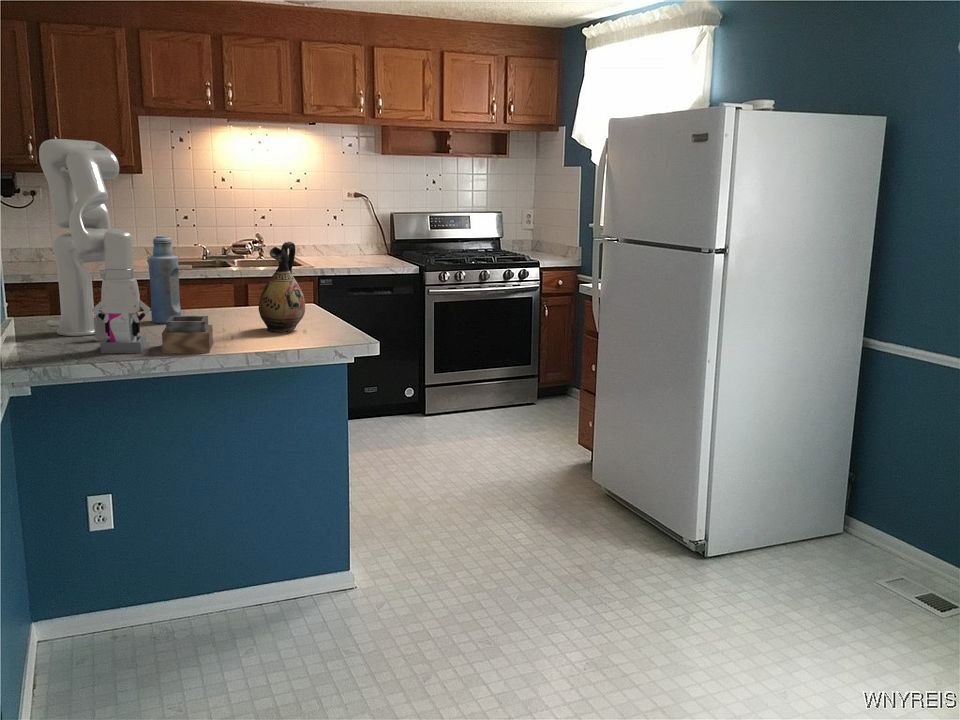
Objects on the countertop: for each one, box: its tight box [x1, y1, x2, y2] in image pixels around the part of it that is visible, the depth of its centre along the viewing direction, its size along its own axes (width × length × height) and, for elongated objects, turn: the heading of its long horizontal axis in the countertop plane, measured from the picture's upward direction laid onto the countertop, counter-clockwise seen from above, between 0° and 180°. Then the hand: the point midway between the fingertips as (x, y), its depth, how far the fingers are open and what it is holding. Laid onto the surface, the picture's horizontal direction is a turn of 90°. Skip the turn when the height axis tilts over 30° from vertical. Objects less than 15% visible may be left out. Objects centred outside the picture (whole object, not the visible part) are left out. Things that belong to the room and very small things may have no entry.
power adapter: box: [94, 301, 108, 342], centre depth 252 cm, size 3×5×12 cm, turn 126°
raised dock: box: [161, 315, 214, 354], centre depth 245 cm, size 13×13×9 cm
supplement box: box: [109, 312, 137, 342], centre depth 240 cm, size 6×6×12 cm
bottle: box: [147, 235, 182, 325], centre depth 284 cm, size 10×10×30 cm
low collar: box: [99, 335, 148, 354], centre depth 241 cm, size 11×11×3 cm
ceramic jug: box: [258, 241, 306, 333], centre depth 277 cm, size 17×15×30 cm
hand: (123, 334), depth 240 cm, fingers closed on supplement box, 6 cm apart
